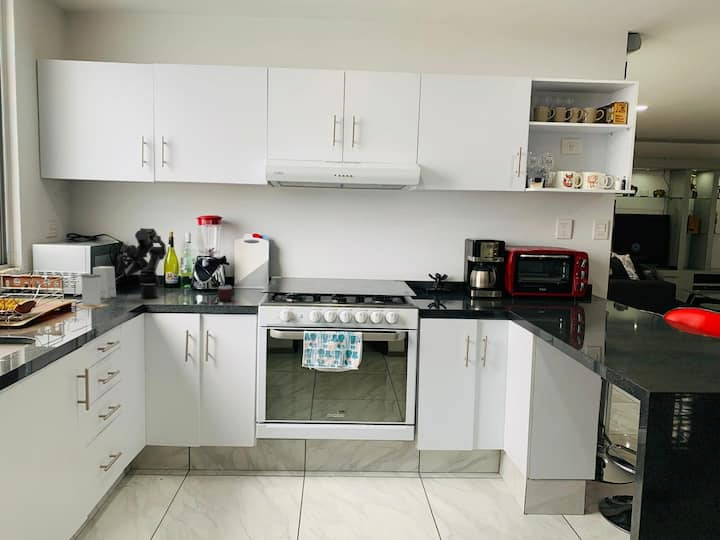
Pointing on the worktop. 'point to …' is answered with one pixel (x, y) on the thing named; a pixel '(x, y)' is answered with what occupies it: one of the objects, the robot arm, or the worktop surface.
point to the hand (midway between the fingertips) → (121, 274)
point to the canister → (91, 290)
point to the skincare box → (106, 281)
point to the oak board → (90, 306)
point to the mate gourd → (224, 292)
